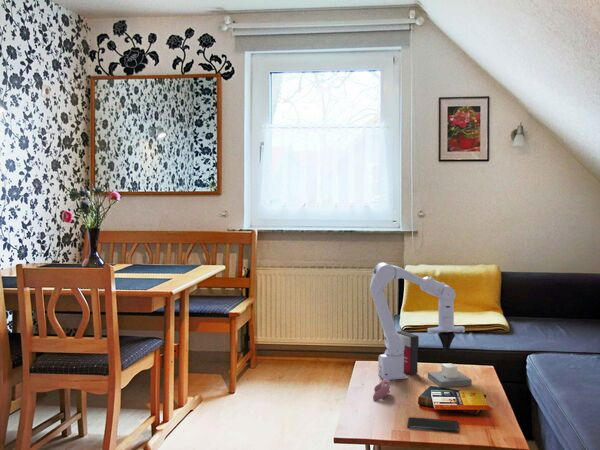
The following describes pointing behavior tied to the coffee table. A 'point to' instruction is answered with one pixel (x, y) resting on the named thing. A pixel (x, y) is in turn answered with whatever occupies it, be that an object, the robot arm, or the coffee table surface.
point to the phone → (433, 424)
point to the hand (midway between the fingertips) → (446, 351)
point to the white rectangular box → (449, 370)
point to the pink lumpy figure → (381, 389)
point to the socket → (449, 379)
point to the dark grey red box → (409, 351)
